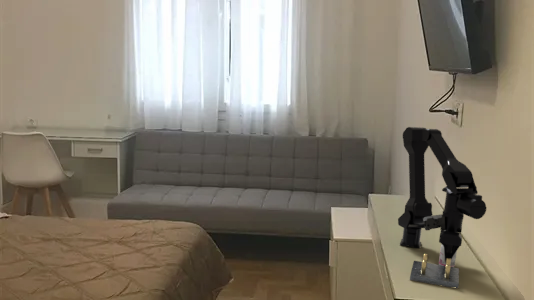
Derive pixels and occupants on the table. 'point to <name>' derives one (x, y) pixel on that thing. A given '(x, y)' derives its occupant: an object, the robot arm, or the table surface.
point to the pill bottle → (442, 258)
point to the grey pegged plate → (435, 273)
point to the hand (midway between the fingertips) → (447, 258)
